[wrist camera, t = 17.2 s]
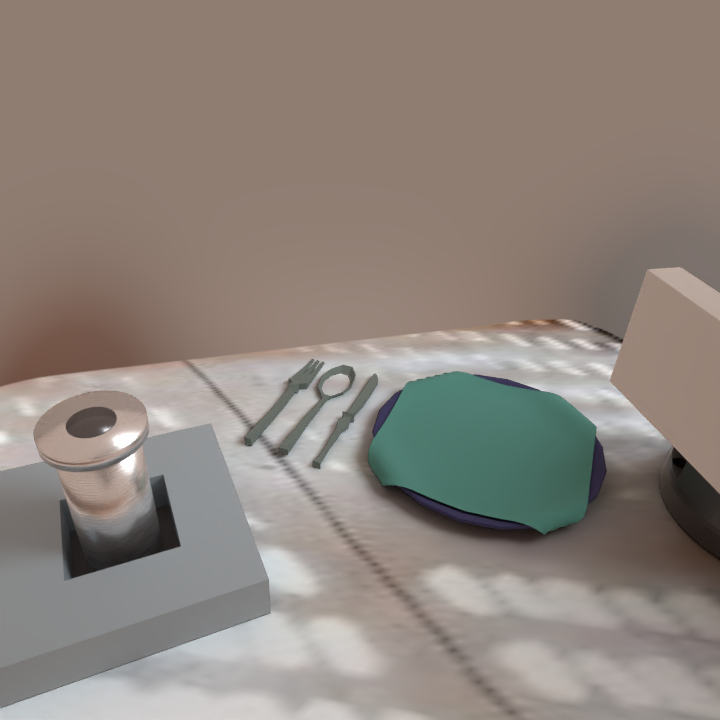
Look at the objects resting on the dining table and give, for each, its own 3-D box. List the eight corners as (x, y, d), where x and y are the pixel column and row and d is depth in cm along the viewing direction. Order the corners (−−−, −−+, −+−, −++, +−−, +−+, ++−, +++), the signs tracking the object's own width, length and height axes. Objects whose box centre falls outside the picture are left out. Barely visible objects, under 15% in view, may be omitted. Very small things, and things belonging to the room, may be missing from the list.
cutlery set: (592, 580, 44) (600, 559, 42) (226, 462, 52) (224, 442, 51) (607, 419, 59) (613, 400, 58) (323, 349, 68) (323, 332, 67)
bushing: (164, 510, 46) (139, 381, 40) (179, 575, 42) (153, 442, 35) (76, 534, 44) (33, 402, 37) (81, 605, 39) (33, 469, 33)
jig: (214, 455, 52) (210, 423, 50) (270, 612, 40) (268, 579, 38) (2, 507, 46) (-11, 474, 44) (-6, 710, 34) (-26, 676, 32)
